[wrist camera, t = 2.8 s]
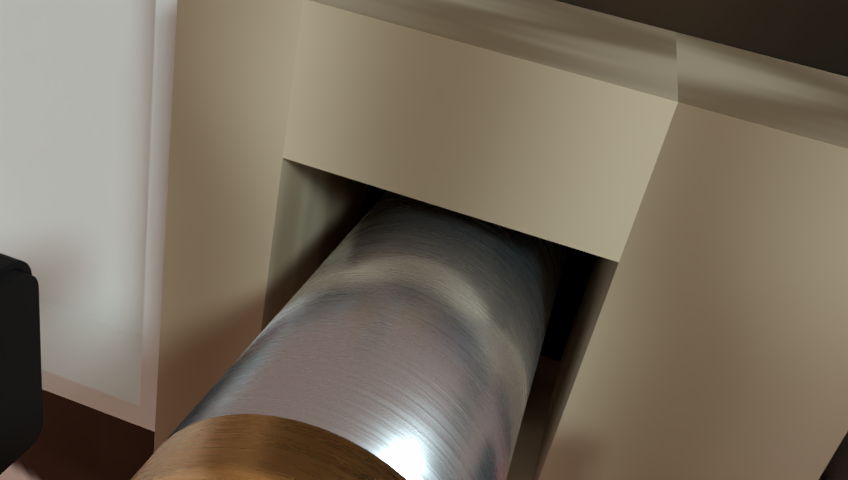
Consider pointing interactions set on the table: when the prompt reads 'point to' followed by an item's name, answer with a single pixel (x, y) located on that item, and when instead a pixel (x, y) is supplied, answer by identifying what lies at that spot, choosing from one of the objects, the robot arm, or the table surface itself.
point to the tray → (90, 187)
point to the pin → (384, 360)
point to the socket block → (533, 212)
